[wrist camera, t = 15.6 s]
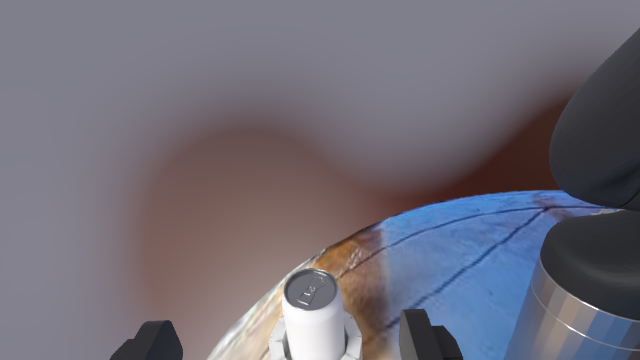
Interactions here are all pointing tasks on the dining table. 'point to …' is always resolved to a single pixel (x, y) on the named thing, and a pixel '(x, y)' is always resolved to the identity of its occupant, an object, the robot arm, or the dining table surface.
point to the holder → (351, 335)
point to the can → (314, 316)
